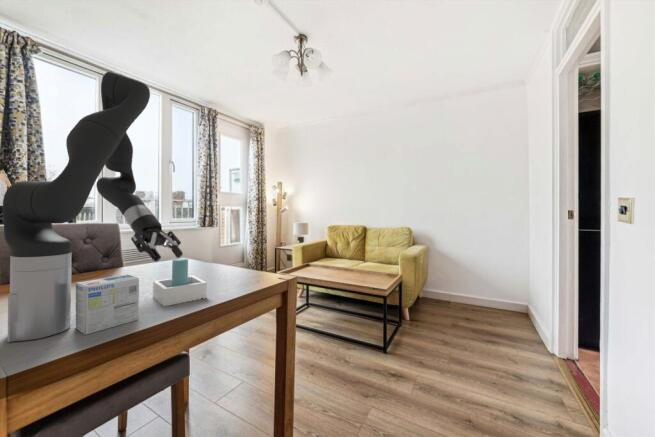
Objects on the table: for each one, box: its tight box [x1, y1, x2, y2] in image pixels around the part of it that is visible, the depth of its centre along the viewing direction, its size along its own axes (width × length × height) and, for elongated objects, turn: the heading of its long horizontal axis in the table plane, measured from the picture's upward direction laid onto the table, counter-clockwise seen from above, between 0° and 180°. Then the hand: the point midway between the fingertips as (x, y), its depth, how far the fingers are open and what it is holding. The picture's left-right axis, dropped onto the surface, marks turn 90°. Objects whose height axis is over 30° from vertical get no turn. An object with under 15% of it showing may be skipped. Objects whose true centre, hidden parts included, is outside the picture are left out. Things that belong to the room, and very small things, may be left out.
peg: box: [171, 258, 189, 287], centre depth 85 cm, size 4×4×12 cm
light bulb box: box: [75, 274, 140, 336], centre depth 64 cm, size 11×7×11 cm, turn 149°
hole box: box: [152, 275, 208, 307], centre depth 85 cm, size 12×12×5 cm
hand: (170, 257), depth 86 cm, fingers open, 8 cm apart
